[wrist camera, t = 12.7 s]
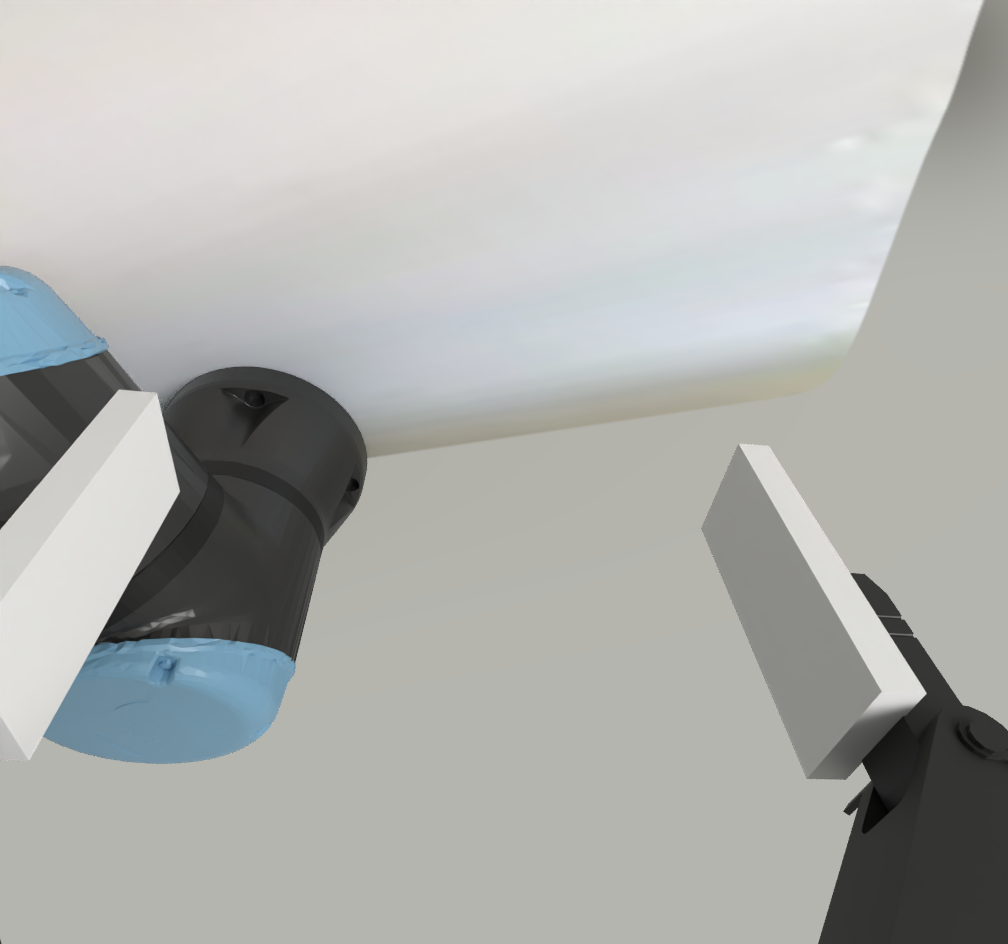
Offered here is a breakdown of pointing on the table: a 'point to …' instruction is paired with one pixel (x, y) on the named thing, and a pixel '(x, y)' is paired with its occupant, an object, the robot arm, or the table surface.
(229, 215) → the table surface
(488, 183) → the table surface
